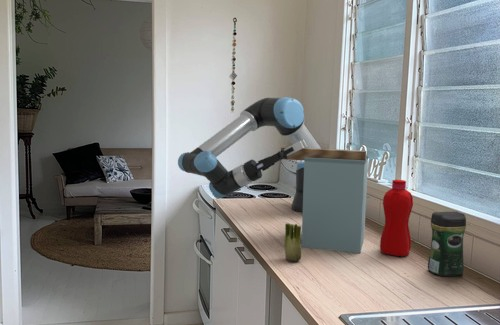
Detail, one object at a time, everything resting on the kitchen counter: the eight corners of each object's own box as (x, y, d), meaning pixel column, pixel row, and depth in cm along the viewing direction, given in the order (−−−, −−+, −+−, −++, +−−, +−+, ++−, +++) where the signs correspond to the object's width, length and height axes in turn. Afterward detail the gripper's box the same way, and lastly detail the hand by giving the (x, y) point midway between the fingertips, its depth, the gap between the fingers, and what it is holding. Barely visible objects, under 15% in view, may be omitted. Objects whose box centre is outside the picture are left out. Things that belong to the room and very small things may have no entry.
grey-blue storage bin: (310, 233, 179) (313, 152, 176) (364, 239, 173) (368, 155, 170) (301, 246, 162) (304, 157, 159) (360, 253, 156) (364, 161, 153)
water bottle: (412, 250, 161) (417, 178, 158) (405, 258, 152) (410, 183, 148) (386, 245, 166) (390, 176, 162) (377, 253, 156) (381, 180, 153)
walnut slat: (280, 159, 164) (280, 147, 163) (283, 157, 168) (283, 146, 167) (365, 163, 155) (365, 151, 155) (365, 162, 159) (366, 150, 158)
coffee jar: (450, 267, 145) (455, 208, 142) (467, 276, 137) (472, 214, 135) (422, 268, 143) (426, 209, 140) (438, 278, 135) (442, 215, 133)
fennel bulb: (282, 258, 150) (283, 222, 148) (295, 257, 151) (297, 221, 150) (289, 264, 144) (291, 226, 143) (304, 262, 146) (305, 225, 144)
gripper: (259, 178, 179) (313, 150, 171) (245, 185, 162) (303, 155, 154) (250, 161, 179) (303, 132, 171) (235, 166, 162) (292, 135, 154)
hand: (303, 143), depth 163 cm, fingers open, 5 cm apart
